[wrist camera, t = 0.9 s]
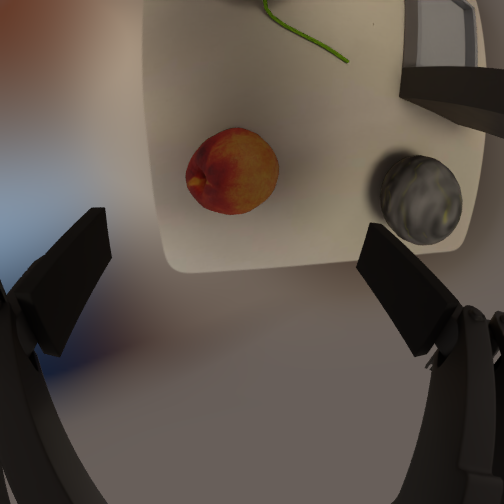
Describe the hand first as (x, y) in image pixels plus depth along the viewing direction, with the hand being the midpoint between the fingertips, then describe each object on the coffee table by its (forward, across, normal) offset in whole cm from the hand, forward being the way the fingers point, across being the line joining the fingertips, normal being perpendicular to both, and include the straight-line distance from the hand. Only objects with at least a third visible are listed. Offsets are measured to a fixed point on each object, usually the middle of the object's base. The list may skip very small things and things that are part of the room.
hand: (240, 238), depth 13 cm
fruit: (+17, 0, 0) cm, 17 cm away
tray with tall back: (+17, +24, +21) cm, 36 cm away
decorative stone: (+17, +21, 0) cm, 27 cm away
